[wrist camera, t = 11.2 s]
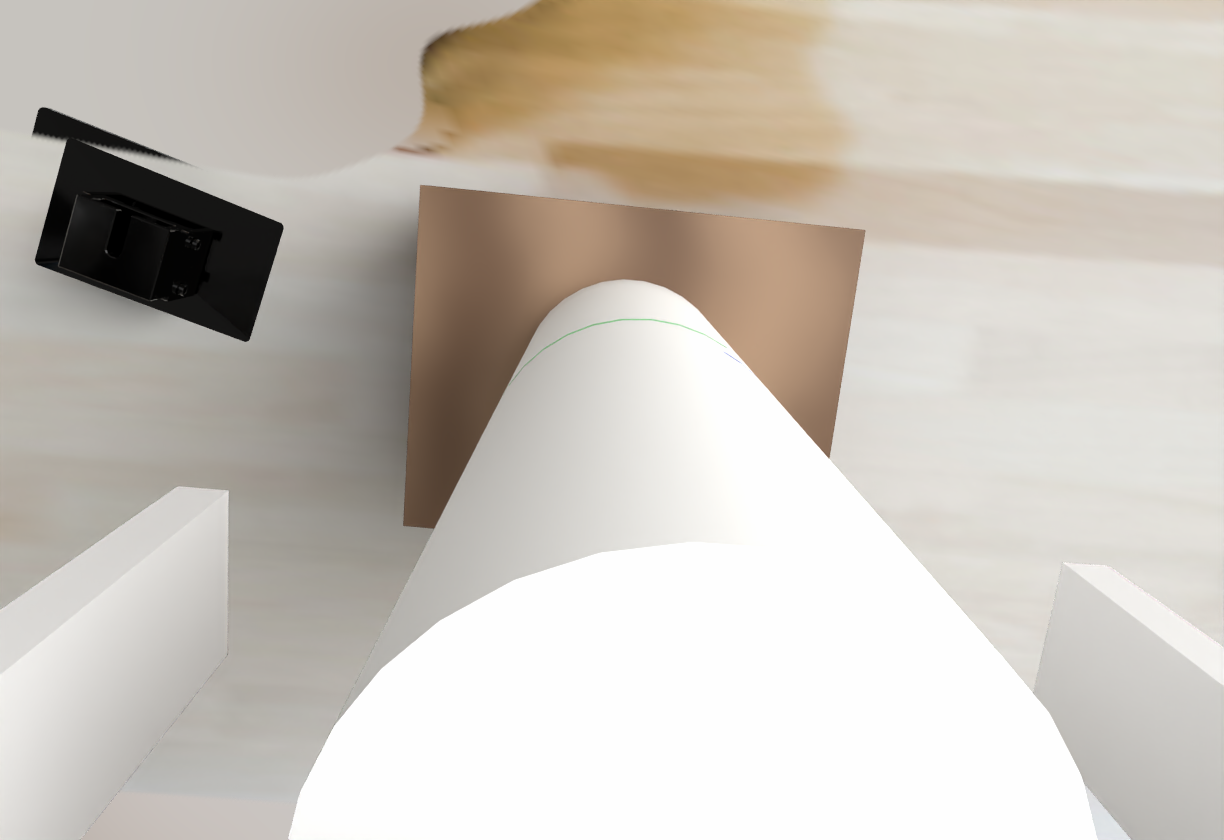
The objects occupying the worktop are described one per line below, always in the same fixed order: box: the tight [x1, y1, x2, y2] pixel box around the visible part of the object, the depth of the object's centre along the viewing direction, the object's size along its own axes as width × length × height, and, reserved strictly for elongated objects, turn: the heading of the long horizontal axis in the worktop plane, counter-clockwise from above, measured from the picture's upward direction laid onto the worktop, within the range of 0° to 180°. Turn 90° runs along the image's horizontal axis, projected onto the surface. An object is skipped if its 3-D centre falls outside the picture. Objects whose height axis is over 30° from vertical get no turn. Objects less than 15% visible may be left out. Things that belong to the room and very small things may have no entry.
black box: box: [32, 107, 283, 342], centre depth 37 cm, size 12×7×5 cm, turn 68°
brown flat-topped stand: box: [403, 185, 865, 528], centre depth 36 cm, size 15×12×8 cm
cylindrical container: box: [288, 279, 1097, 840], centre depth 20 cm, size 7×7×25 cm
